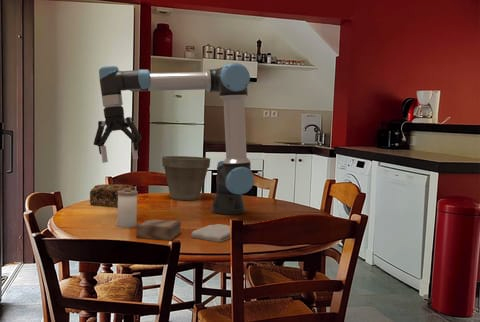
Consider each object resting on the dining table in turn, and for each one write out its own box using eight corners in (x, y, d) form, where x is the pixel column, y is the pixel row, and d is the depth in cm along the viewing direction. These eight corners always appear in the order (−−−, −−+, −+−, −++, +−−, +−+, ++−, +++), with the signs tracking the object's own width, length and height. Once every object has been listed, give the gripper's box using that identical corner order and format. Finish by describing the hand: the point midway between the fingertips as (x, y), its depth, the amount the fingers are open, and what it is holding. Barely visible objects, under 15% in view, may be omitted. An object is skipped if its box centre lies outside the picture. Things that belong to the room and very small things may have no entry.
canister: (139, 224, 181) (140, 188, 180) (132, 228, 174) (133, 190, 173) (121, 222, 182) (122, 186, 181) (113, 226, 175) (114, 189, 174)
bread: (136, 205, 222) (136, 184, 222) (126, 208, 212) (126, 186, 211) (100, 202, 226) (100, 181, 225) (88, 205, 216) (88, 184, 215)
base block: (180, 232, 170) (180, 220, 170) (170, 240, 158) (171, 227, 158) (148, 230, 171) (148, 218, 171) (136, 237, 160) (136, 225, 159)
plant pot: (185, 193, 265) (187, 154, 263) (218, 199, 249) (220, 158, 248) (151, 197, 245) (152, 155, 244) (184, 204, 230) (185, 159, 228)
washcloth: (244, 234, 173) (245, 225, 173) (220, 244, 157) (220, 235, 157) (216, 229, 179) (216, 221, 178) (190, 239, 163) (190, 230, 162)
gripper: (146, 102, 184) (153, 156, 185) (91, 110, 191) (98, 162, 193) (136, 102, 177) (144, 158, 178) (80, 110, 184) (87, 164, 185)
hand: (120, 160), depth 185 cm, fingers open, 13 cm apart
